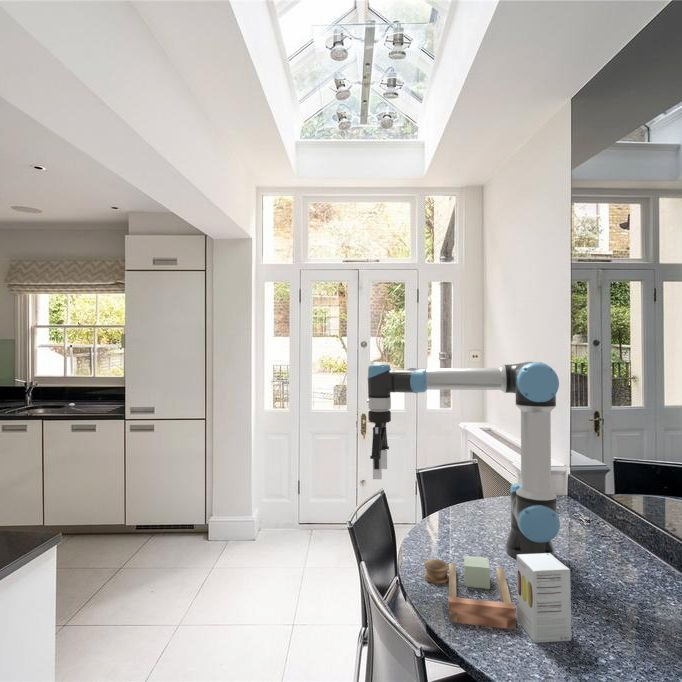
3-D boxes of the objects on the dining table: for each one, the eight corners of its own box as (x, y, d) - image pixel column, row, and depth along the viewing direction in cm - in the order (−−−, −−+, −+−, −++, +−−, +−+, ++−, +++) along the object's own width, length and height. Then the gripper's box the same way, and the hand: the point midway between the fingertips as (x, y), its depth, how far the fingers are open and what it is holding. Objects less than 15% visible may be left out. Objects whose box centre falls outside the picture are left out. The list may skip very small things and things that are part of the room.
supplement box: (516, 620, 119) (515, 553, 119) (551, 618, 119) (549, 551, 120) (535, 644, 109) (533, 570, 110) (572, 641, 110) (571, 568, 110)
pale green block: (488, 577, 142) (487, 557, 142) (490, 589, 135) (489, 568, 135) (464, 575, 143) (463, 555, 143) (464, 586, 136) (464, 565, 137)
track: (503, 576, 142) (503, 559, 142) (515, 629, 115) (515, 608, 115) (449, 571, 146) (448, 555, 146) (448, 621, 118) (448, 601, 119)
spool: (448, 573, 144) (448, 560, 144) (448, 585, 137) (448, 571, 137) (425, 571, 146) (425, 558, 146) (423, 582, 139) (423, 568, 139)
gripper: (374, 405, 171) (375, 464, 170) (361, 414, 146) (362, 483, 146) (394, 406, 169) (395, 465, 168) (385, 415, 145) (386, 484, 144)
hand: (380, 473), depth 157 cm, fingers open, 13 cm apart
